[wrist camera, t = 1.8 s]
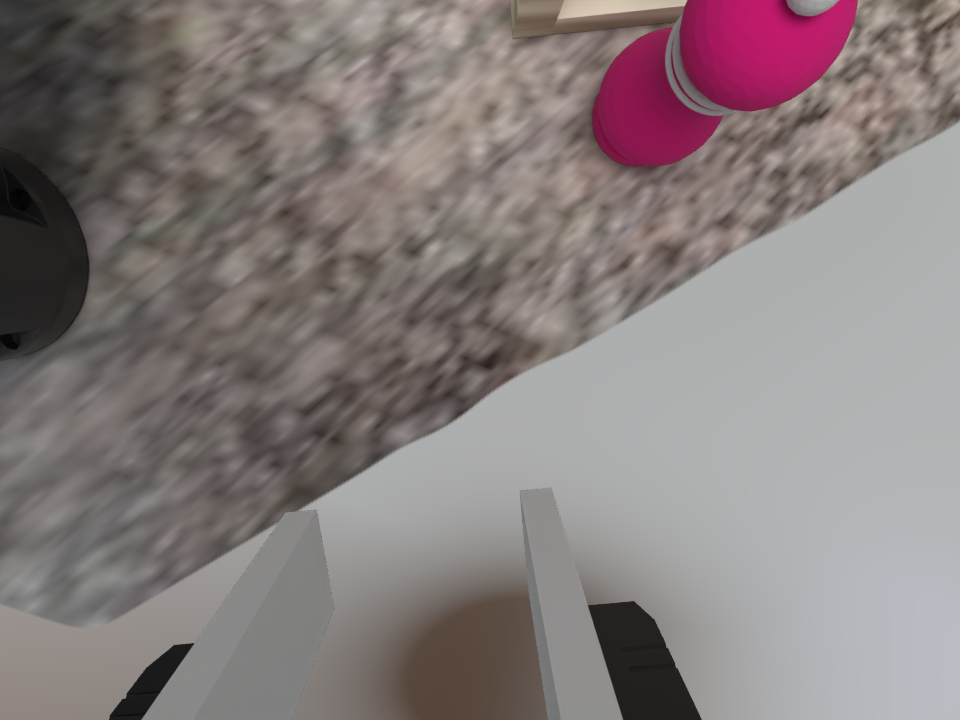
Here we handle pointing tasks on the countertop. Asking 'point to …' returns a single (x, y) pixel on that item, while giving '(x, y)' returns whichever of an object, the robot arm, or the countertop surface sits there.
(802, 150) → the countertop surface
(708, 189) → the countertop surface
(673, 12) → the u rest
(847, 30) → the pepper mill
